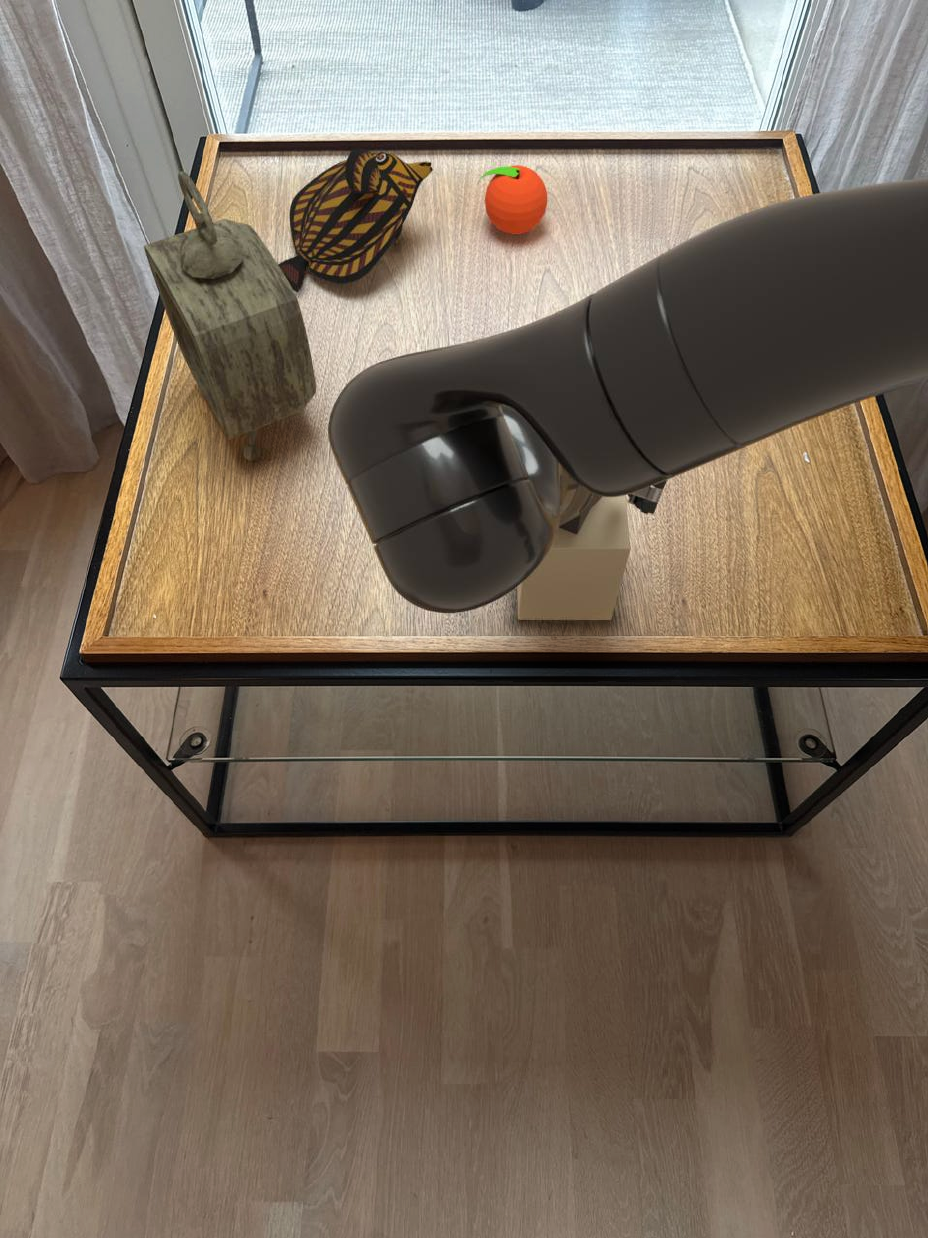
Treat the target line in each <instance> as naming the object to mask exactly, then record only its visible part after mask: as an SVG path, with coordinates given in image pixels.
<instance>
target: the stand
mask: <svg viewBox="0 0 928 1238" xmlns="http://www.w3.org/2000/svg"><path fill="white" fill-rule="evenodd" d="M626 496H627V495H624V496H620V497H604V496H602V498H601V499H600V500H599V501H598V502H597V503H596V504H595V505H594V506H593V507H592V508H591V509H590V511H589V513H588V515H587V517H586V519H585V521H584V522H583V524H582V526H581V528H580V530H579V532H578V534H574V533H572V532H569V531H566V530H564V529H561V528H559V527H558V530H557V533H556V537H555V540H554V542H553V544H552V547H551V548H550V550H549V552H548V553H547V555H546V556H545V558H544V559H543V561H542V562H541V563H540V565H539V566H538V567H537V568H536V569H535V570H534V571H533V573H532V574H531V575H530V576H529V577H528V578H527V579H525V580H524V581H523V582H522V583H521V584H520V585H518V586H517V587H516V592H517V597H516V598H517V619H518V620H519V621H526V620H527V621H612V618H613V614H614V612H615V611H614V610H615V607H616V603H617V600H618V597H619V592H620V590H621V585H622V581H623V578H624V575H625V571H626V567H627V564H628V560H629V557H630V554H631V553H630V552H631V550H632V545H631V535H630V526H629V515H628V507H627V506H628V505H627V499H626Z"/></svg>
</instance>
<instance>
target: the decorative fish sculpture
mask: <svg viewBox="0 0 928 1238" xmlns="http://www.w3.org/2000/svg"><path fill="white" fill-rule="evenodd" d="M433 171H434V168H433V166H432V162H431V161H427V160H426V161H416V162H411V163H407V162H405V161H404V160H403V159H401V158H400V157H399V156H397V155H396V154H394V153H391V152H384V151H381V152H371V151H370V150H367V149H365V148H355V149H352V150H351V151H350V152H349V155H348V157H347V159H344V160H342V161H338V163H335V164H334V165H331V166H330V167H328V168H327V169H325V170H324V171H322V172H321V173H319V174H318V175H317V176H316V177H315V178H313V179H312V180H311V181H309V182H308V183H307V184H306V185H304V186H303V187H302V188H301V189H300V190H299V191H298V192H297V193H296V194H295V196H294V197H293V199H292V200H291V203H290V206H289V215H288V216H289V217H288V218H289V227H290V233H291V238H292V245H293V247H294V250H295V251H294V252H295V253H296V256H293V257H289V258H287V259H285V260H283V261H281V262H280V263H277V264H278V266H279V267H280V269H281V271H282V272H283V274H284V275H285V277H286V279H287V280H288V282H289V284H290V286H291V287H292V289H293V291H294V292H298V291H299V290H300V288H301V285H302V282H303V280H304V276H305V271H306V269H308V271H309V272H310V273H311V274H312V275H314V276H315V277H317V278H319V279H321V280H324V281H326V282H329V283H332V284H338V285H348V284H352V283H354V282H357V281H359V280H361V279H362V278H364V277H365V276H367V275H368V274H369V273H370V272H371V271H372V270H373V268H375V267H376V266H377V265H378V263H379V261H380V260H381V259H382V258H383V256H384V255H385V253H386V252H387V250H388V249H389V248H390V246H391V245H392V243H393V242H394V245H393V246H394V248H396V247H397V245H398V244H399V241H400V238H401V236H402V231H403V227H404V223H405V222H406V220H407V218H408V216H409V213H410V211H411V209H412V207H413V205H414V203H415V202H414V201H415V198H416V197H417V193H418V190H419V188H420V186H421V184H422V182H423V181H424V180H425V179H426V178H427V177H429V175H431V174H432V172H433Z"/></svg>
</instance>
